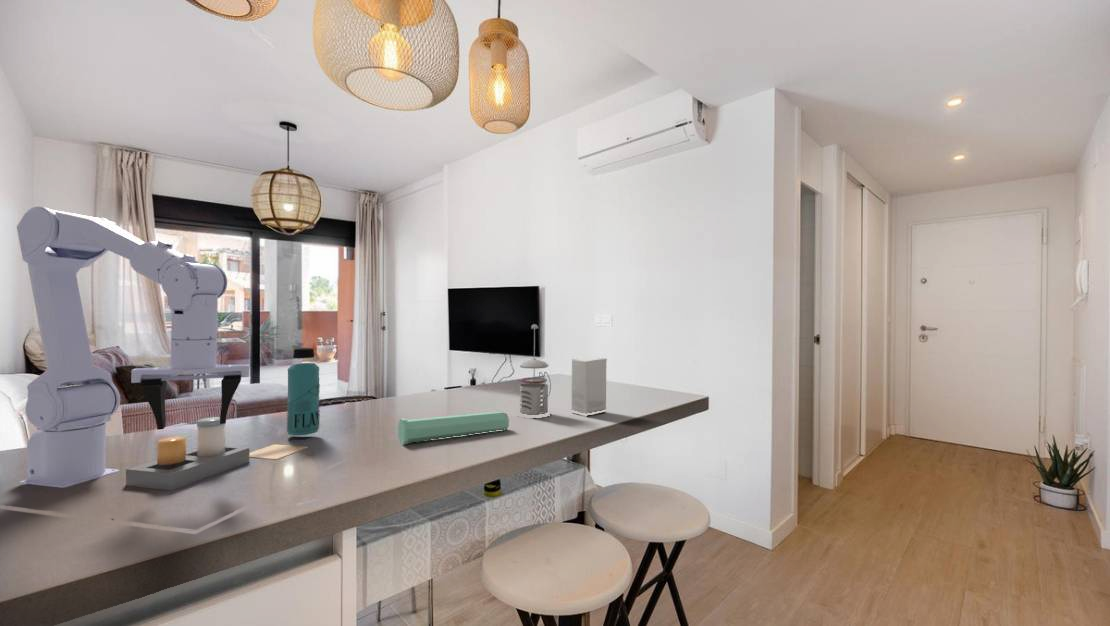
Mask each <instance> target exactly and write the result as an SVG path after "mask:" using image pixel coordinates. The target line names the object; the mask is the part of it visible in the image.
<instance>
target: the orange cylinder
mask: <svg viewBox="0 0 1110 626" xmlns="http://www.w3.org/2000/svg"><path fill="white" fill-rule="evenodd" d="M156 444H157V445H156V453H157V454H156V460H157V464H159V465H168V464H175V463H179V462H182V461H184V460H186V451H187V445H186V444H187V437H185V436H173V437H167V438H161V439H159V440H157V442H156Z"/></svg>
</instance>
